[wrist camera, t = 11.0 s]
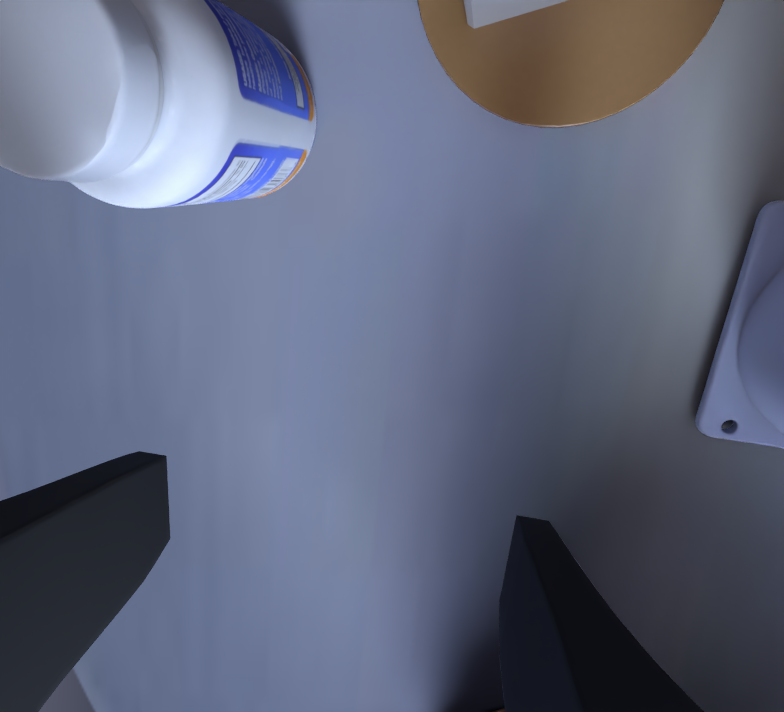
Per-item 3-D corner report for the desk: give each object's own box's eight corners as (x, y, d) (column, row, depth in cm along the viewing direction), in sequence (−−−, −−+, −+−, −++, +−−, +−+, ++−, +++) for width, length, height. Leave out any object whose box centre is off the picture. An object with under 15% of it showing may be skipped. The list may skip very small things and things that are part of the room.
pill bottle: (182, 13, 18) (-132, -156, 9) (334, 48, 18) (167, -92, 8) (169, 179, 20) (-103, 178, 11) (306, 215, 19) (143, 246, 10)
